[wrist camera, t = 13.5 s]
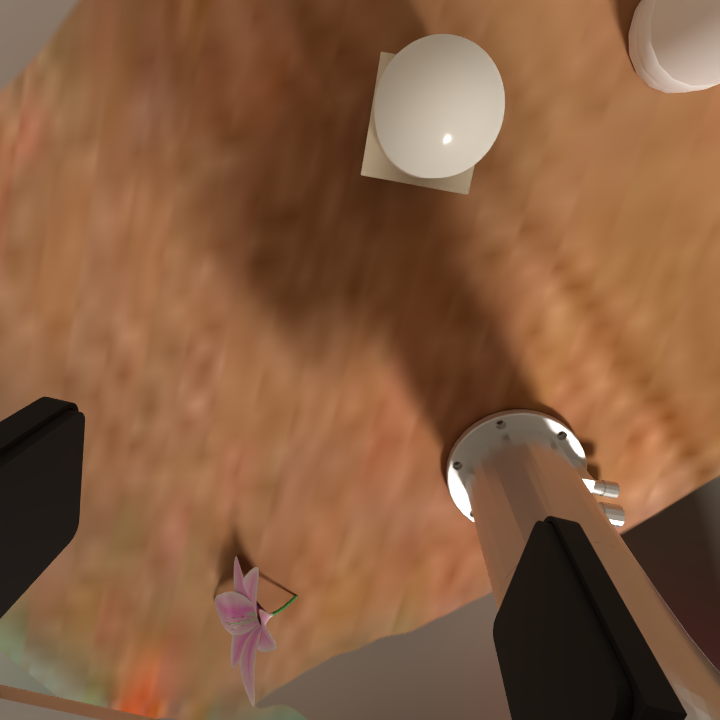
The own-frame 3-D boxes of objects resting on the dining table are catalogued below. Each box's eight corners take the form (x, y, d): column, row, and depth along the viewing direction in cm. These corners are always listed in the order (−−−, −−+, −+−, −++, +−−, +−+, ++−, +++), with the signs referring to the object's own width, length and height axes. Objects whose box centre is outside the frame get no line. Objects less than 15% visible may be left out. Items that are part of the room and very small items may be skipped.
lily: (287, 518, 52) (215, 571, 44) (353, 620, 50) (291, 694, 42) (230, 557, 58) (159, 610, 50) (287, 648, 57) (223, 717, 49)
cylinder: (486, 80, 26) (520, 47, 19) (461, 186, 28) (486, 188, 21) (386, 62, 26) (387, 22, 19) (368, 169, 28) (363, 165, 21)
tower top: (475, 91, 32) (496, 73, 26) (453, 191, 34) (467, 194, 28) (381, 73, 31) (381, 51, 26) (364, 175, 33) (360, 175, 28)
